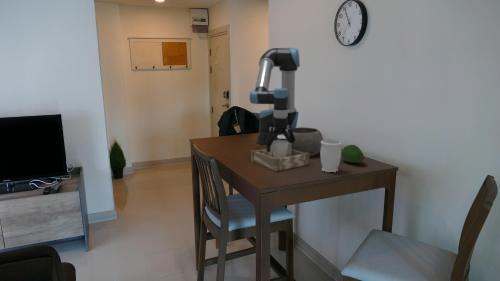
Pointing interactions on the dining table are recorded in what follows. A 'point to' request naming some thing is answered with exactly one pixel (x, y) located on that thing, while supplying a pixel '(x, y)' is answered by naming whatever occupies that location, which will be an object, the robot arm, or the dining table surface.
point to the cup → (279, 148)
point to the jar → (330, 155)
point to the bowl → (307, 140)
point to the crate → (280, 159)
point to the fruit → (352, 154)
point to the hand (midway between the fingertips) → (279, 155)
